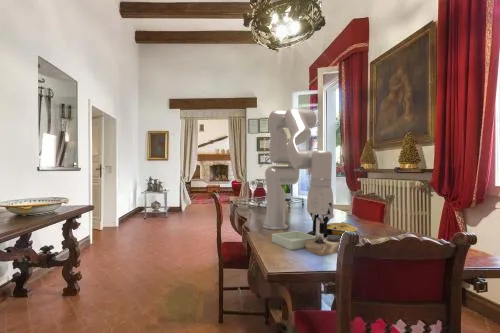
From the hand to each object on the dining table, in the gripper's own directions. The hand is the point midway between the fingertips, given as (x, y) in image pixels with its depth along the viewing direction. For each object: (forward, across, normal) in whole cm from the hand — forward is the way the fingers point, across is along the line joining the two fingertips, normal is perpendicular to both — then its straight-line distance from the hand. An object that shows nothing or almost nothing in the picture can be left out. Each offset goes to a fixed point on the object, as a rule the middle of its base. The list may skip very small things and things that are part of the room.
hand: (319, 231), depth 118 cm
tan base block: (+7, 0, +3) cm, 8 cm away
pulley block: (+8, -17, +24) cm, 31 cm away
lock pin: (+5, 0, 0) cm, 5 cm away
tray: (+8, -13, -2) cm, 15 cm away
